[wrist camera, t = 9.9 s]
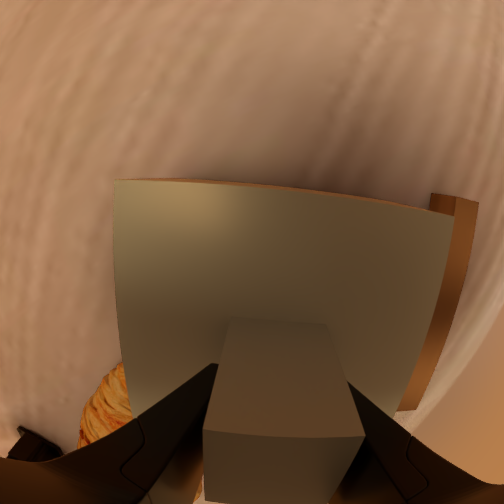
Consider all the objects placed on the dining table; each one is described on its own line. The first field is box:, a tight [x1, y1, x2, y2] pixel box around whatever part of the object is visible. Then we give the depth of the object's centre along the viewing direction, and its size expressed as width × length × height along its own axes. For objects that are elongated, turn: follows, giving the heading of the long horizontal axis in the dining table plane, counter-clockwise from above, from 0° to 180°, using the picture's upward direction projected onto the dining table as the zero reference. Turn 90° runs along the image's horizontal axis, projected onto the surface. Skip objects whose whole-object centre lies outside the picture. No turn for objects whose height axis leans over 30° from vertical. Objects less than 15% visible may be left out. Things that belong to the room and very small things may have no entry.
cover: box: [113, 178, 455, 504], centre depth 10 cm, size 10×10×10 cm
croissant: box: [77, 362, 202, 502], centre depth 17 cm, size 21×10×8 cm, turn 171°
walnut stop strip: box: [396, 193, 479, 412], centre depth 14 cm, size 12×2×2 cm, turn 175°
